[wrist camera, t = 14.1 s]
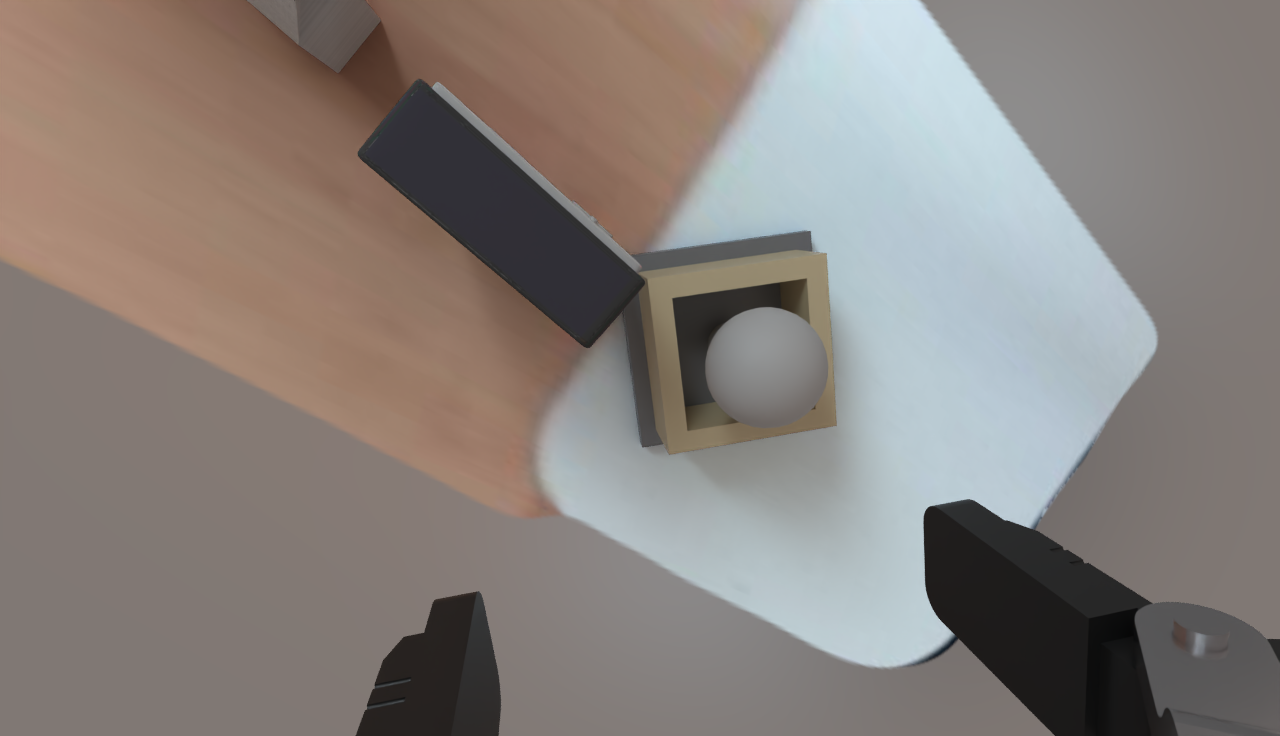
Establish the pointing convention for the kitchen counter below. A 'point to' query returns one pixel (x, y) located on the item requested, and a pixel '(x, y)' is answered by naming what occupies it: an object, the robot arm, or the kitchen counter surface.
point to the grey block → (323, 26)
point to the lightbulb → (766, 367)
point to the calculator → (503, 210)
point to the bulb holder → (697, 303)
